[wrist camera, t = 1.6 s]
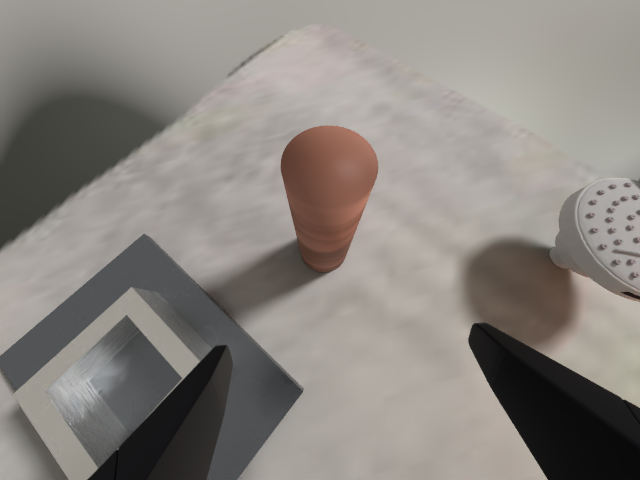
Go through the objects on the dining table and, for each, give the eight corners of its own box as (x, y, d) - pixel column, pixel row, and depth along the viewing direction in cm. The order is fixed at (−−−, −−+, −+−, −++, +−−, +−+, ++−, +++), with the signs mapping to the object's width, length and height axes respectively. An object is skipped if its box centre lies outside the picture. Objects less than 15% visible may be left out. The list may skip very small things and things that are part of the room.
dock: (303, 388, 19) (300, 404, 15) (159, 580, 16) (108, 661, 12) (149, 236, 23) (117, 219, 20) (8, 358, 20) (-65, 366, 16)
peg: (342, 276, 22) (371, 215, 10) (296, 267, 23) (269, 197, 10) (349, 233, 24) (383, 133, 11) (306, 224, 24) (293, 119, 12)
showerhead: (726, 185, 17) (760, 323, 14) (611, 225, 24) (616, 324, 21) (588, 148, 18) (590, 269, 15) (515, 196, 25) (506, 286, 22)
